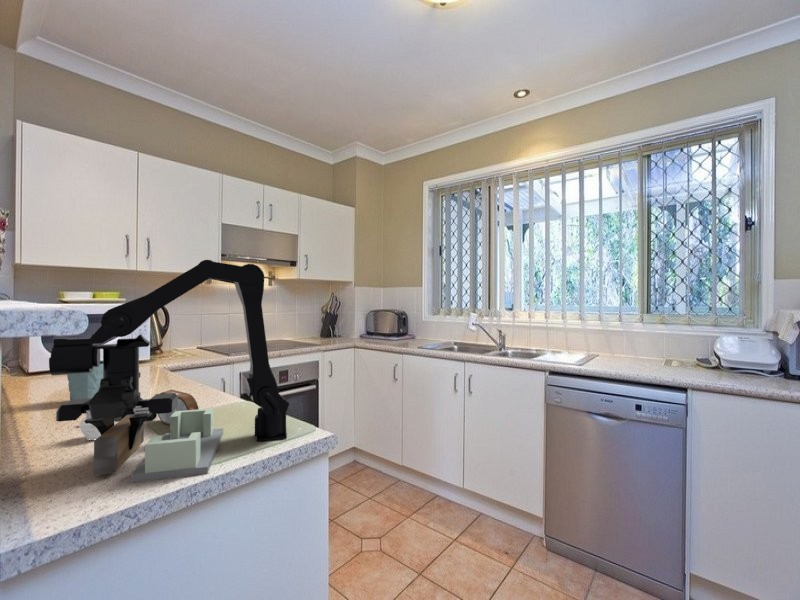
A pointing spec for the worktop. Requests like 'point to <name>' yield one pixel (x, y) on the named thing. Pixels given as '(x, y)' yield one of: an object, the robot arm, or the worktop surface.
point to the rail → (114, 447)
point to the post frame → (181, 447)
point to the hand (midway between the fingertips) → (121, 449)
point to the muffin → (89, 430)
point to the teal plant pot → (85, 383)
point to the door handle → (129, 412)
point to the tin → (179, 405)
